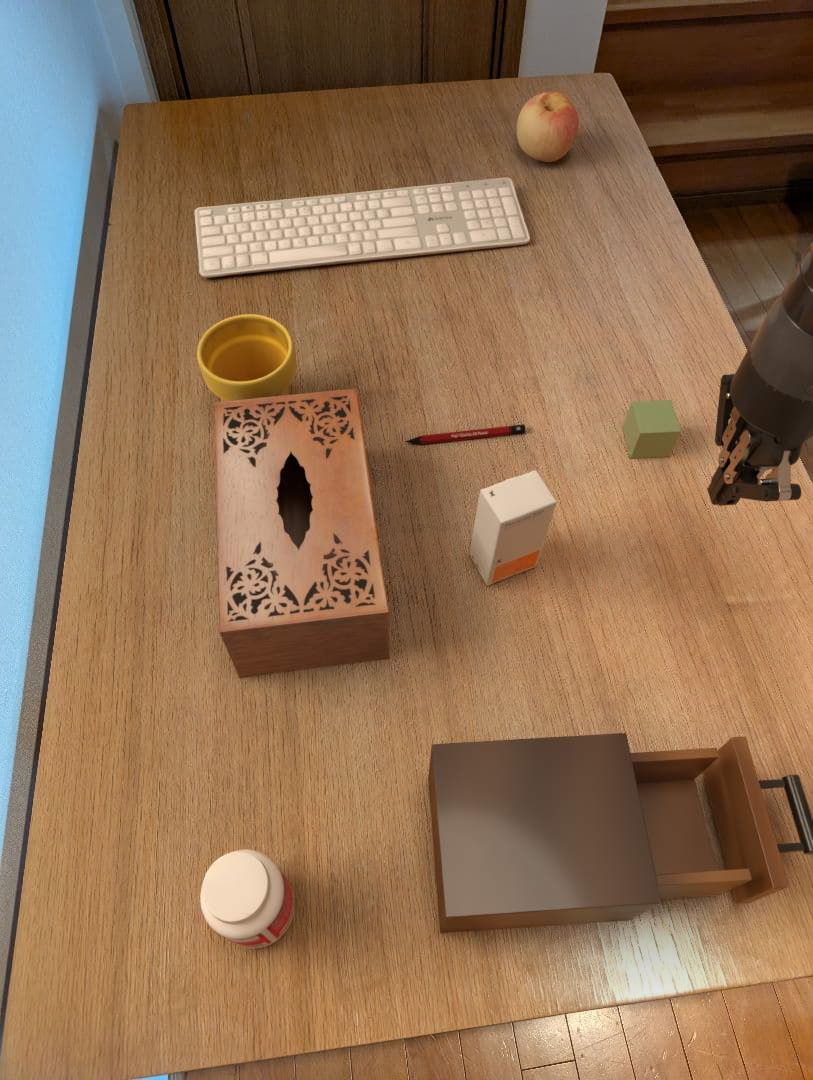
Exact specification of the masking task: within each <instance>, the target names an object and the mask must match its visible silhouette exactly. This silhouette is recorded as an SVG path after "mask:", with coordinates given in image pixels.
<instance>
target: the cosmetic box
mask: <svg viewBox="0 0 813 1080" xmlns="http://www.w3.org/2000/svg"><path fill="white" fill-rule="evenodd" d="M557 504H558V503H557V500H556V498H555V496H554V495H553V494H552V492H551V490H550V489H549V487H548V486H547V484H546V483H545V481H544V479H543V478H542V475H540V473H539V471H538V470H532V471H528V472H526V473H523V474H520V475H518V476H513V477H510V478H506V479H504V480H502V481H501V482H498V483H495V484H493V485H490V486H487V487H484V488H481V489H480V490H479V494H478V501H477V507H476V512H475V518H474V523H473V531H472V536H471V541H470V542H471V543H470V547H469V558H470V559H471V561H472V562H473V564H474V566H475V567H476V569H477V571H478V573H479V575H480V577H481V578H482V581H483V582H484V584H485V585H486V586H487V587H488V586H491V585H493V584H495V583H497V582H500V581H503V580H505V579H509V578H510V577H512V576H515V575H517V574H521V573H524V572H526V571H529V570H532V569H534V568H536V567H537V566H538V564H539V560H540V557H541V554H542V550H543V548H544V544H545V541H546V538H547V535H548V532H549V529H550V525H551V522H552V519H553V515H554V513H555V511H556V510H555V509H556V506H557Z"/></svg>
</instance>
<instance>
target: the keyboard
mask: <svg viewBox="0 0 813 1080" xmlns="http://www.w3.org/2000/svg"><path fill="white" fill-rule="evenodd" d="M194 221H195V223H194V224H195V234H196V235H195V237H196V243H197V244H196V245H197V246H196V247H197V259H198V272H199V273H198V274H199V276H200V277H201V278H204V279H210V278H219V277H228V276H236V275H245V274H254V273H262V272H273V271H282V270H291V269H292V270H293V269H301V268H311V267H320V266H330V265H338V264H348V263H358V262H366V261H377V260H387V259H396V258H407V257H408V258H409V257H418V256H426V255H435V254H436V255H437V254H446V253H457V252H464V251H465V252H467V251H474V250H475V251H476V250H485V249H486V250H487V249H493V248H494V249H496V248H503V247H513V246H514V247H515V246H523V245H524V246H525V245H527V244H529V243H530V240H531V235H530V233H529V229H528V226H527V223H526V221H525V218H524V214H523V211H522V208H521V205H520V202H519V199H518V195H517V192H516V188H515V184H514V181H513V180H512V178H510V177H498V178H489V179H479V180H469V181H468V180H467V181H457V182H449V183H439V184H438V183H437V184H428V185H416V186H407V187H399V188H397V187H396V188H388V189H387V188H385V189H377V190H369V191H358V192H348V193H338V194H337V193H336V194H327V195H316V196H305V197H295V198H286V199H276V200H275V199H274V200H263V201H262V200H261V201H254V202H244V203H243V202H242V203H233V204H232V203H231V204H224V205H223V204H222V205H213V206H199V207H197V208H196V209H194Z"/></svg>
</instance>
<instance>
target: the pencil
mask: <svg viewBox="0 0 813 1080" xmlns="http://www.w3.org/2000/svg"><path fill="white" fill-rule="evenodd" d="M520 434H526V424H524V423H523V424H513V425H505V426H495V427H487V428H477V429H469V430H460V431H458V430H457V431H450V432H449V431H448V432H441V433H431V434H423V435H418V436H416V437H413V438H410V439H408V440H405V441H404V443H408V444H409V443H410V444H417V445H427V444H429V445H430V444H437V443H438V444H439V443H445V442H446V443H447V442H457V441H465V440H475V439H485V438H492V437H501V436H510V435H520Z"/></svg>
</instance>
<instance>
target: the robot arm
mask: <svg viewBox="0 0 813 1080" xmlns="http://www.w3.org/2000/svg"><path fill="white" fill-rule="evenodd" d="M718 396H719V397H718V403H717V404H718V405H717V415H716V423H715V424H716V425H715V432H714V433H715V434H714V442H715V445H716V446H717V447H721V450H720V453H719V454H718V458H717V462H718V467H717V469H716V470H715V472H714V474H713V475H712V477H711V481H710V482H709V485H708V487H707V489H706V490H707V491H706V492H707V493H708V496H709V499H710V503H711V505H713V506H718V507H721V506H723V507H725V506H735V505H737V504H738V503H739V502H740V500H741V499H745V500H752V501H759V502H765V503H767V502H769V503H770V502H784V501H798V500H800V499H801V497H802V488H801V486H800V484H799V483H793V482H792V478H791V477H792V476H791V474H792V473H791V468H792V466H793V465H795V464H796V463H797V462H798V461H799V459H800V457H801V454H802V449H803V446H804V444H805V443H806V442H807V441H808V440H809V439H811V438H813V237H811V240H810V241H809V243H808V244H807V246H806V248H805V250H804V251H803V253H802V255H801V256H800V259H799V260H798V262H797V264H796V266H795V268H794V270H793V272H792V274H791V275H790V277H789V279H788V281H787V283H786V285H785V286H784V288H783V290H782V292H781V293H780V295H779V296H778V297H777V298H776V300H775V301H774V302H773V303H772V305H771V306H770V308H769V309H768V311H767V312H766V315H765V316H764V318H763V320H762V322H761V324H760V326H759V328H758V329H757V332H756V334H754V337H753V339H752V340H751V343H750V345H749V346H748V348H747V350H746V352H745V353H744V356H743V358H742V360H741V362H740V364H739V365H738V367H737V369H736V372H735V373H732V374H731V373H730V374H723V375H722V376H721V378H720V387H719V395H718ZM769 470H771V471H770V473H768V474H766V476H765V478H762V476H763V475H764V473H765V472H767V471H769Z"/></svg>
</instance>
